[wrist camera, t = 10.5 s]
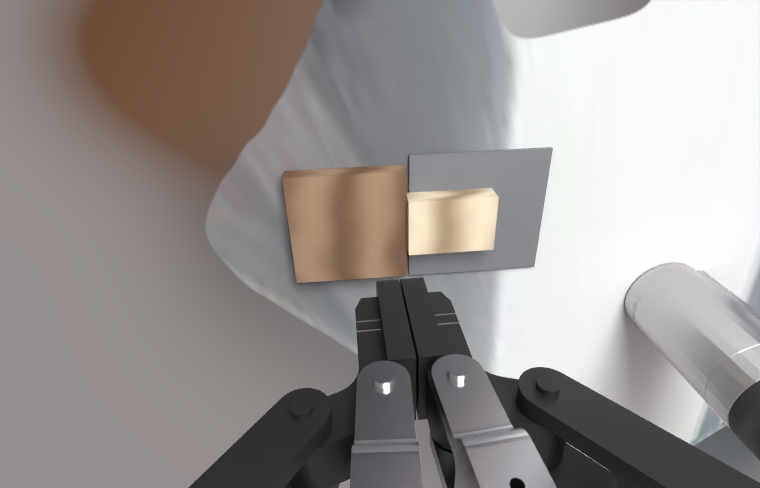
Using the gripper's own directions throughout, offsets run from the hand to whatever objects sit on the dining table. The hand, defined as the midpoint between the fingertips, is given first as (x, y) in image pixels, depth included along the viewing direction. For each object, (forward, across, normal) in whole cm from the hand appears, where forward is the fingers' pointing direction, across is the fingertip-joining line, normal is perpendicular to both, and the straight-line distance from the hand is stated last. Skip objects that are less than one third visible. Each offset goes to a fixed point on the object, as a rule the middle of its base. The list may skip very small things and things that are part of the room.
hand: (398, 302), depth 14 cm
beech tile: (+31, -9, +13) cm, 35 cm away
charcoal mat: (+31, -12, +13) cm, 36 cm away
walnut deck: (+32, +2, +13) cm, 34 cm away
